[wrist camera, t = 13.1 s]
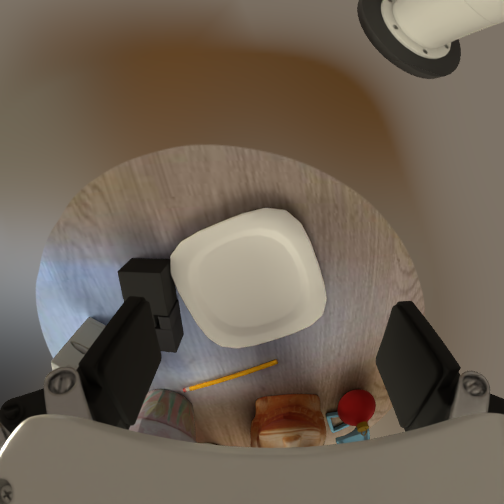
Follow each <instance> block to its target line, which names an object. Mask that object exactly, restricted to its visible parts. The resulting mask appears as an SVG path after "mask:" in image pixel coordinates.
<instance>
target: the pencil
mask: <svg viewBox="0 0 504 504" xmlns="http://www.w3.org/2000/svg"><path fill="white" fill-rule="evenodd" d="M275 364H278V361H277V359H275V360H273V361H270V362H267V363H264V364H262V365H259V366H256V367H253V368H250V369H247V370H244V371H241V372H238V373H235V374H232V375H229V376H226V377H222V378H219V379H216V380H212V381H209V382H205V383H202V384H198V385H195V386H191V387H187V388H184V389H183V391H184V392H188V391H192V390H196V389H199V388H203V387H207V386H210V385H214V384H217V383H221V382H224V381H227V380H231V379H234V378H237V377H240V376H243V375H247V374H250V373H253V372H256V371H258V370H261V369H264V368H267V367H270V366H273V365H275Z"/></svg>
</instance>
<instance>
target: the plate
mask: <svg viewBox="0 0 504 504" xmlns="http://www.w3.org/2000/svg"><path fill="white" fill-rule="evenodd" d="M170 266H171V275H172V278H173V280H174V283H175V285H176V288H177V290H178V292H179V294H180V296H181V298H182V299H183V301H184V303H185V305H186V307H187V308H188V310H189V312H190V313H191V315H192V317H193V318H194V320H195V321H196V323H197V325H198V326H199V327H200V328H201V330H202V331H203V332H204V333H205V335H206V336H207V337H208V338H209V339H210V340H212V341H214V342H215V343H217V344H218V345H220V346H221V347H230V348H243V347H248V346H254V345H258V344H262V343H265V342H269V341H272V340H275V339H278V338H281V337H284V336H287V335H290V334H293V333H296V332H298V331H300V330H302V329H304V328H307V327H309V326H311V325H312V324H313V323H314V322H315V321H316V320H317V319H318V318H320V317H321V316H322V315H323V312H324V308H325V305H326V301H327V297H326V291H325V285H324V280H323V277H322V274H321V270H320V267H319V264H318V261H317V258H316V255H315V252H314V250H313V247H312V244H311V242H310V240H309V238H308V236H307V234H306V232H305V230H304V228H303V226H302V224H301V223H300V222H299V221H298V220H297V219H296V218H295V217H293V216H292V215H291V214H290V213H289V212H287V211H286V210H282V209H274V208H261V209H257V210H253V211H249V212H245V213H242V214H239V215H237V216H234V217H231V218H229V219H226V220H224V221H221V222H219V223H216V224H214V225H212V226H209V227H207V228H205V229H202V230H200V231H198V232H196V233H195V234H193V235H191V236H190V237H188V238H186V239H185V240H183V241H181V242H180V243H179V245H178V246H177V247H176V249H175V250H174V252H173V253H172V254H171V256H170Z"/></svg>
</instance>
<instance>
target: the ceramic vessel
mask: <svg viewBox="0 0 504 504" xmlns="http://www.w3.org/2000/svg"><path fill="white" fill-rule="evenodd" d="M255 407H256V415H255V418H254V419H253V420H252V422H251V431H250V434H251V447H254V448H290V447H310V446H323V445H324V442H325V439H326V426H325V422H324V417H323V414H322V413H321V411H320V399H319V397H318V396H317V395H314V394H286V395H276V396H266V397H261V398H258V399H257V400H256V402H255Z"/></svg>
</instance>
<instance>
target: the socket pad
mask: <svg viewBox="0 0 504 504" xmlns="http://www.w3.org/2000/svg"><path fill="white" fill-rule="evenodd" d="M158 319H159V322H158V324H157V326H156V327H155V330H156V334H157V339H158V343H159V347H160V351H165V352H175V353H176V352H177V350H178V347H179V345H180V342H181V339H182V337H183V334H184V333H183V327H182V321H181V315H180V308H179V301H178V300H176V301H175V303H174V305H173V307H172V309H171V311H170V313H169V315H168V316H162V315H159V316H158Z"/></svg>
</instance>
